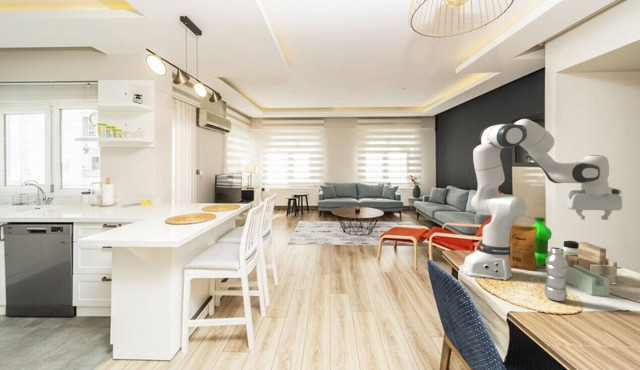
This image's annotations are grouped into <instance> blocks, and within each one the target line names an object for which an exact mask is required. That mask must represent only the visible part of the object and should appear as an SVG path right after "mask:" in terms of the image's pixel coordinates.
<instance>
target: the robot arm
mask: <svg viewBox="0 0 640 370" xmlns="http://www.w3.org/2000/svg"><path fill="white" fill-rule="evenodd" d="M478 138H479V139H478V140H479V141H478V145H476V147H475V148H474V149H473V152H472V159H473V161H472V162H473V167H474V172H475V175H476V181H477V182H476V183H477V191H476V192H475V194H474V195H473V196H472V197H471V201H470V205H471V208H472V209H473V210H474V211H476V212H478V213H480V214H483V215H488V216H491V219H490V220H491V221H490V222H489V223H487V224H484V225H483V227H482V237H481V238H482V239H481V243H479V242H474V243H473V245H474V246H475V248H477V250H476V251H474V252H472V253H470V254H469V255H466V257H465V258H464V261H463V264H460V265H458V269H459V271H461V273H463V274H464V275H467V276H469V277H474V278H481V277H486V278H485V279H490V278H497V279H496V280H498V279H505V280H504V281H507V280H508V279H509V278H508V277H511V276H512V275H513V273H512V267H510V260H509V257H510V246H509V244H510V238H511V237H510V235H511V228H512V225H513V224H515V222H516V221H517V220H518V219H520V218H522V217H523V216H524V215H525V214H526V212H527V208H528V207H527V203H526V201H525V200H524V198H522V197H520V196H517V195H512V194H506V193H499V187H500V186H502V184H504V182H505V180H506V178H505V177H506V176H505V173H504V172H505V171H504V168H503V163H502V160H501V150H502V149H511V148H515V147H517V146H520V147H521V148H523V150H525V151H526V152H527V154H528V156H529V158H530V159H531V160H532V161H534V163H535V164H536V165H537V166H538V167H539V168H540V170H542V171H543V172H544V174H545V176H546V177H547V179H548V181H550V182H551V183H554V184H581V185H580V186H581V189H577V190H576V189H572V190H571V191H569V193H568V198H567V204H566V207H567V209H569V210H573V211H575V212H576V214H577V216H578V217H577V218H578V220H585V219H586V215H583V212H584V211H603V212H604V213H603V215H601V216H600V217H601V220H603V221H608V220H609V217H610V215H611V214H612V213H613V211H621V210H622V208H623V197H622V196H621V195H622V192H623V191H622V190H621V189H619V188H614V187H611V186H610V185H609V181H608V178H609V176H610V164H609V163H610V162H609V159H608V157H606V156H604V155H599V154H598V155H596V154H592V155H586V156H584V158H582V159H580V160H579V161H576V162H563V163H562V162H558V161H556V160H555V159H554V158H553V157H552V156H551V155H550V154H549V152H550V151H551V150H552V149H553V147H554V145H555V137H554V136H553V135H552V134H551V133H550V132H549V131H548V130H546V129H545V128H544V127H543V126H541V125H540V124H538V123H537V122H534V121H533V120H531V119H528V118H522V119H519V120H517V121H515V122H514V123H506V124H505V123H502V124H501V123H498V124H495V125H489V126H487V127H485V128H483V130H482V131H481V132H480V134H479V137H478ZM512 277H513V276H512ZM512 277H511V278H512ZM507 278H508V279H507ZM506 279H507V280H506Z"/></svg>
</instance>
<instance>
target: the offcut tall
mask: <svg viewBox="0 0 640 370" xmlns="http://www.w3.org/2000/svg"><path fill="white" fill-rule="evenodd" d="M590 264H593V265H597V264H596V263H594V262H591V261H589V260H585V259H579V260H578V266H580V267H582V268H584V269H587V270H589V271H590Z"/></svg>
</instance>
